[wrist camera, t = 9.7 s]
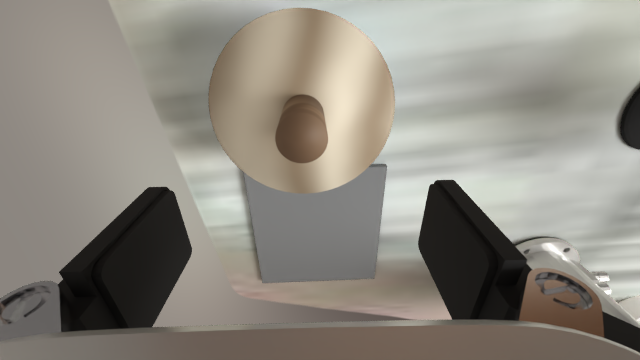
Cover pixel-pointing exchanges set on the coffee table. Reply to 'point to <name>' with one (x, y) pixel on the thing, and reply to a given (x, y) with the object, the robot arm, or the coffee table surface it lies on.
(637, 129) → the wine glass
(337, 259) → the mat
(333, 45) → the lid
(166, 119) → the coffee table surface
